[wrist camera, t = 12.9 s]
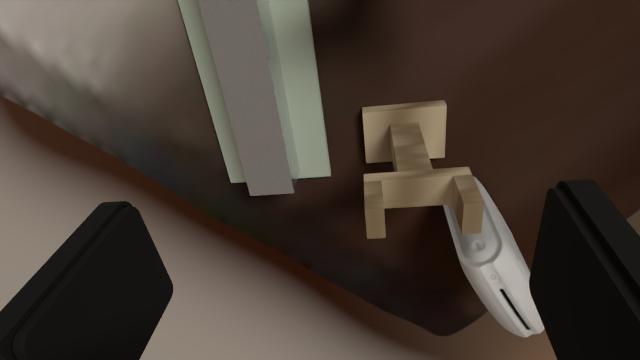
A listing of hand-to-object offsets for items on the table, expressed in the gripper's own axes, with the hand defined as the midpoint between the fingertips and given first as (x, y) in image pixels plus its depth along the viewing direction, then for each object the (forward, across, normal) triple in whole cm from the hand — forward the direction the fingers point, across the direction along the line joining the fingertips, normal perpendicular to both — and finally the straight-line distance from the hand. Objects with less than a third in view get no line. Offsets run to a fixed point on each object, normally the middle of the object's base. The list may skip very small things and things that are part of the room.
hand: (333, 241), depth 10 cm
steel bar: (+26, +9, +2) cm, 27 cm away
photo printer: (+27, -10, +20) cm, 35 cm away
